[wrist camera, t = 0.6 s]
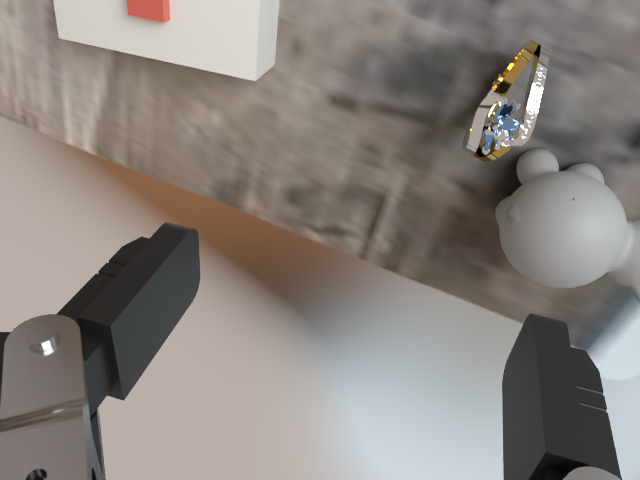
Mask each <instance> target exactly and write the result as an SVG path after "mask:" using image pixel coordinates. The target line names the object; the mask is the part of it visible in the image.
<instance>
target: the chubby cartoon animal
mask: <svg viewBox="0 0 640 480" xmlns="http://www.w3.org/2000/svg"><path fill="white" fill-rule="evenodd" d="M516 172H517V176H518V179H519V181H520V182H521V184H522V186H520V187H519V188H518V189H517V190H516V191H515V192H514V193H513V194H512V195H511V196H508V197H506V198H504V199H503V200H502V201H501V202H500V203H499V204H498V205H497V208H496V212H495V216H496V221H497V223H498V225H499V237H500V242H501V246H502V249H503V251H504V254H505V256H506V257H507V259H508V261H509V262H510V263H511V265H512V266H513V267H514V268H515V269H516V270H517V271H518V272H519V273H520V274H522V275H523V276H524V277H526V278H528V279H529V280H531V281H533V282H535V283H538V284H540V285H543V286H547V287H553V288H572V287H578V286H582V285H585V284H588V283H590V282H593V281H594V280H596V279H598V278H599V277H601V276H602V275H603V274H605V273H607V275H608V276H609V277H610V278H611V279H613V280H614V281H616V282H617V283H619V284H621V285H624V286H627V287H630V288H631V290H632V292H633V294H634V296H635V298H636V299H637V300H638V301H639V302H640V219H637V220H630V221H626V215H625V212H624V209H623V207H622V205H621V203H620V201H619V199H618V198H617V197H616V195H615V194H614V193H613V192H612V191H611V190H610V189H609V188H608V187H607V186H606V185H604V178H603V175H602V173H601V172H600V170H599V169H598V168H597V167H596V166H594V165H592V164H590V163H579V164H575V165H573V166H571V167H569V168H568V169H566V170H565V171H559V165H558V162H557V159H556V158H555V156H554V155H553V154H552V153H551V152H550V151H548V150H546V149H533V150H530V151H528V152H526V153H524V154H523V155H522V156H521V157H520V158H519V160H518V162H517V166H516Z"/></svg>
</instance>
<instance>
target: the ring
mask: <svg viewBox="0 0 640 480" xmlns="http://www.w3.org/2000/svg"><path fill="white" fill-rule="evenodd" d="M532 59H533V62H532V67H531V73H530V78H529V82H528V87H527V92H526V96H525V101H524V106H523V111H522V116H521V120H520V119H519V120H517V119H516V118H514V117H511V116H509V115H511V114H512V113H513V112H514V110H515V109H517V110H519V108H520V106H521V103H520V102H519V101H518V100H512V102H507V99H506V97H505V95H506V94H507V92H508V90H509V88H510V87H511V85H512V84H513V82H514V81H515V79H516V78H517V76H518V75H519V74H520V72H521V71H522V69H523V68H524V67H525V65H526V64H527V63H529V62H530V61H531V60H532ZM548 61H549V51H548V49H546V48H545V47H544V46H542V45H541V44H539V43H537V42H535V41H534V40H532V39H530V40H528V41H527V42H526V43H525V44H524V45H523V47H522V48H521V49H520V50H519V51H518V52H517V53H516V55H515V56H514V57H513V58H512V59H511V61H510V62H509V63H508V65H507V66H506V67H505V68H504V70H503V71H502V72H501V73H499V74H498V75H497V77H496V78H495V79H494V81H493V82H492V86H491V87H490V89H489V90H488V92H487V93H486V95H485V97H484V98H483V100H482V101H481V103H480V105H479V107H478V108H477V110H476V112H475V114H474V116H473V118H472V120H471V122H470V124H469V126H468V128H467V131H466V133H465V136H464V139H463V142H462V150H463V151H465V152H466V153H468V154H470V155H473V156H474V157H476V158H478V159H480V160H481V161H484V162H488V161H492V160H495V159H497V158H498V157H500V156H502V155H503V154H505V153H506V152H507V151H508V150H510V149H511V148H512V147H513V148H517V147H520V146H522V145H524V144H525V143H526V142H527V141H528V139H529V138H530V136H531V134H532V132H533V129H534V126H535V122H536V118H537V114H538V109H539V105H540V100H541V96H542V92H543V87H544V83H545V78H546V73H547V68H548ZM496 103H498V104H499V107H498V108H497V109H496V111H495V113H494V112H493V114H492V116H491V120H490V121H488V118H489V116H490V114H491V112H492V110H493V108H494V106H495V105H496ZM487 121H488V123H487ZM486 123H487V125H486ZM515 129H518V130H517V132H516V133H515V135H514V136H513V137H512V132H513V130H515ZM494 139H496V140H495V141H494ZM483 140H484V144H483ZM493 141H494V142H493ZM492 142H493V143H492Z"/></svg>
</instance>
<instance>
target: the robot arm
mask: <svg viewBox="0 0 640 480" xmlns="http://www.w3.org/2000/svg"><path fill="white" fill-rule="evenodd" d="M199 282H200V260H199V238H198V232H197V230H196V229H193V228H189V227H184V226H181V225H177V224H172V223H169V222H167V223H164V224H163V225H162V226H161V227H160V228H159V229H158V230H157V231H156V232H155V233H154V234H153V235H152V237H151V238H150V239H148V238H144V237H140V238H138V239H136V240H134V241H132V242H130V243H128V244H126V245H125V246H123V247H121V249H120V250H119V251H118V252H117V253H116V254H115V255H114V256H113V257H112V258H111V259H110V260H109V263H106V264H105V265H104V266H103V267H102V268H101V269H100V270H99V273H98V274H95V275H94V276H93V277H92V278H91V279H90V280H89V281H88V282H87V284H85V286H84V287H83V288H82V289H81V290H80V291H79V292H78V293H77V294H76V295H75V296H74V297H73V298H72V299H71V300H70V301H69V302H68V303H67V304H66V305H65V306H64V307H63V308H62V309H61V310H60V311H59V312H58V313H57V314H50V315H43V316H38V317H35V318H32V319H29V320H27V321H25V322H23V323H21V324H20V325H18V327H16V328H15V329H14V330H13V331H12V332H0V480H106V478H105V468H104V458H103V448H102V438H101V428H100V417H99V411H98V407H99V405H100V404H101V403H102V401H103V400H104V399H105V397H106V396H107V395H108V396H111V397H114V398H117V399H121V400H124V399H125V398H126V397H127V395H128V394H129V392H130V391H131V389H132V388H133V387H134V385H135V384H136V382H137V381H138V379H139V378H140V376H141V375H142V374H143V372H144V371H145V369H146V368H147V366H148V365H149V363H150V362H151V360H152V359H153V358H154V356H155V355H156V353H157V352H158V350H159V349H160V348H161V346H162V345H163V343H164V342H165V340H166V339H167V337H168V336H169V335H170V333H171V332H172V330H173V329H174V327H175V326H176V324H177V323H178V321H179V320H180V319H181V317H182V316H183V314H184V313H185V311H186V310H187V309H188V307H189V306H190V304H191V303H192V301H193V299H194V298H195V296H196V293H197V291H198V287H199ZM502 392H503V393H502V396H503V458H504V459H503V461H504V480H622V478H621V475H620V470H619V465H618V460H617V455H616V450H615V446H614V441H613V436H612V431H611V426H610V421H609V417H608V413H606V410H607V407H606V403H605V397H604V396H603V388H602V383H601V378H600V373H599V370H598V369H597V367H596V366H595V364H594V363H593V361H592V360H591V358H590V357H589V355H588V354H587V352H586V351H584V350H580V349H576V348H572V347H570V340H569V334H568V328H567V324H566V323H565V322H563V321H559V320H555V319H551V318H547V317H543V316H539V315H535V314H529V315H528V317H527V318H526V320H525V322H524V324H523V327H522V329H521V331H520V333H519V336H518V337H517V340H516V342H515V344H514V346H513V348H512V350H511V353H510V355H509V357H508V360H507V362H506V365H505V369H504V375H503V383H502Z"/></svg>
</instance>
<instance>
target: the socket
mask: <svg viewBox="0 0 640 480" xmlns="http://www.w3.org/2000/svg"><path fill="white" fill-rule="evenodd" d="M53 2H54V8H55V15H56V21H57V28H58V35H59V38H60V39H65V40H70V41H74V42H79V43H83V44H88V45H92V46H97V47H101V48H106V49H111V50H115V51H120V52H124V53H129V54H133V55H138V56H143V57H147V58H152V59H156V60H161V61H165V62H170V63H174V64H179V65H184V66H188V67H193V68H197V69H202V70H206V71H211V72H215V73H220V74H225V75H229V76H234V77H238V78H243V79H247V80H252V81H256V80H257V79H259V78H260V77H261V76H262V75H263V74H264V73H266V72H267V71H268V70H269V69H270V68H271V67H273V66H274V65H275V53H276V40H277V27H278V14H279V0H53Z"/></svg>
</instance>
